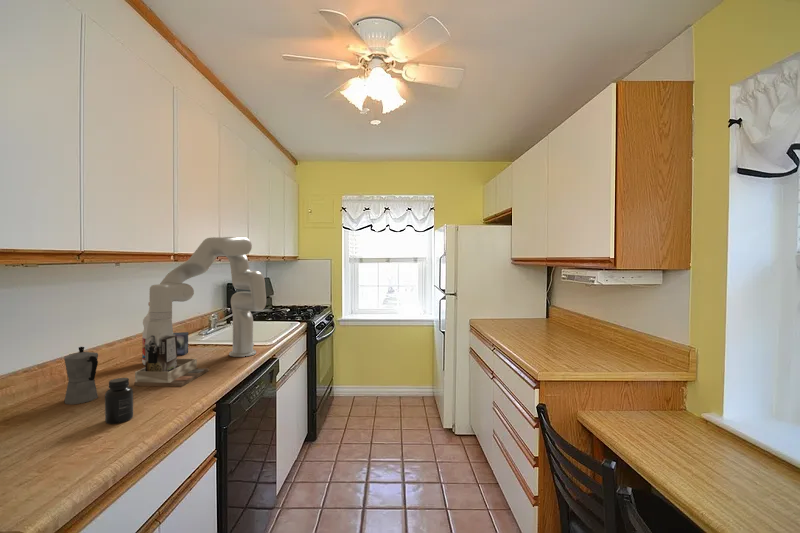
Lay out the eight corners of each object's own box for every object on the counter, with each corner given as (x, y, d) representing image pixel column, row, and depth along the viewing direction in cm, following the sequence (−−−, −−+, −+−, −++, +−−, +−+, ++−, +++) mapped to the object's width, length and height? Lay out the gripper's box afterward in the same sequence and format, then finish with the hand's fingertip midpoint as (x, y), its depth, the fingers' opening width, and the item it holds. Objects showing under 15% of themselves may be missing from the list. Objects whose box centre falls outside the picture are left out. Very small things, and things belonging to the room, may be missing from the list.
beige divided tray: (166, 370, 165) (166, 358, 165) (208, 370, 165) (208, 358, 165) (134, 385, 145) (134, 372, 145) (182, 386, 145) (182, 372, 145)
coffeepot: (54, 400, 129) (53, 347, 128) (86, 392, 137) (86, 342, 137) (79, 409, 122) (79, 352, 122) (112, 399, 131) (112, 346, 130)
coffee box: (177, 376, 153) (178, 335, 153) (166, 381, 147) (166, 339, 147) (156, 375, 154) (156, 335, 154) (144, 380, 148) (144, 338, 147)
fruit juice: (167, 364, 174) (167, 302, 174) (142, 366, 169) (142, 303, 169) (166, 359, 182) (166, 300, 182) (142, 361, 177) (142, 301, 177)
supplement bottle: (134, 413, 120) (135, 375, 119) (131, 422, 113) (131, 381, 113) (107, 417, 116) (107, 378, 116) (102, 426, 110) (102, 384, 110)
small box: (160, 356, 187) (160, 335, 187) (165, 353, 194) (165, 332, 194) (184, 355, 190) (184, 334, 189) (188, 352, 196) (188, 332, 196)
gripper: (164, 312, 158) (164, 354, 159) (136, 319, 141) (136, 365, 141) (182, 313, 158) (182, 354, 159) (156, 319, 141) (156, 366, 141)
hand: (160, 359), depth 150 cm, fingers open, 9 cm apart
